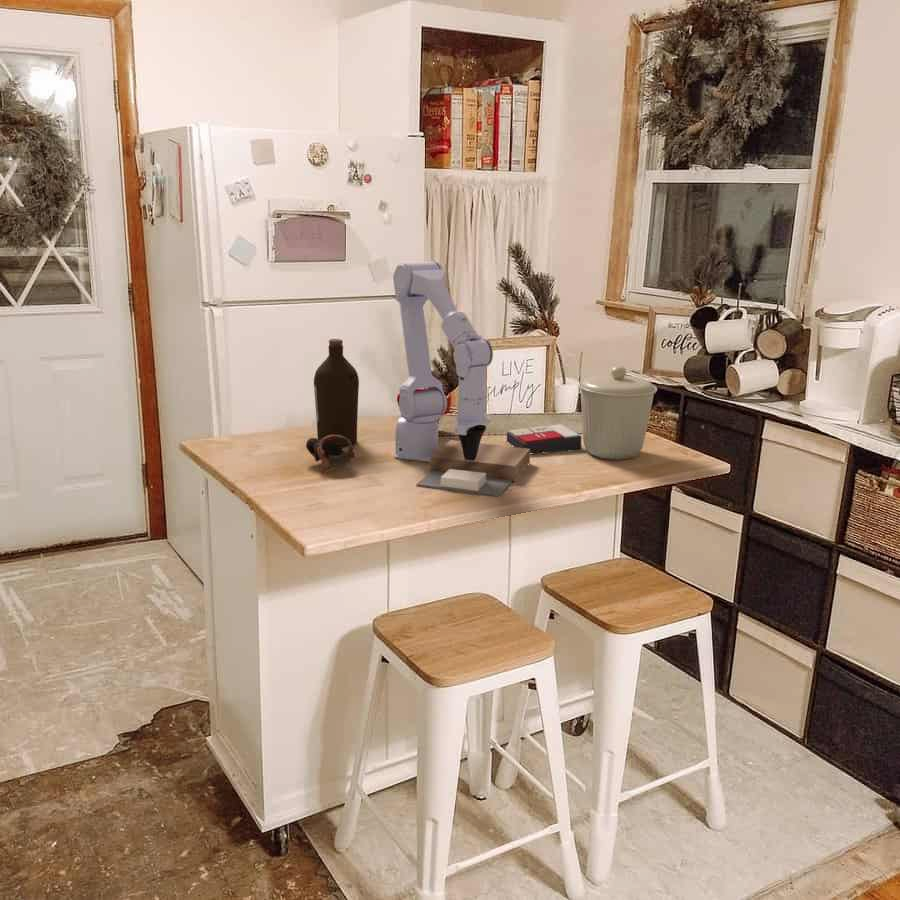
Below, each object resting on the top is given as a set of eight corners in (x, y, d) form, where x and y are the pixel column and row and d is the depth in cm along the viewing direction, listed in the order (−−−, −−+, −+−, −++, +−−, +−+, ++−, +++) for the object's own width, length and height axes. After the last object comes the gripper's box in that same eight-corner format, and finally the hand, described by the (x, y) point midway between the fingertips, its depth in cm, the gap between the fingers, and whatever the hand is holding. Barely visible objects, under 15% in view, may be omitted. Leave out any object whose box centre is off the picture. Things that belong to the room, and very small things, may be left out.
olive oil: (363, 437, 221) (363, 337, 214) (353, 450, 211) (352, 344, 204) (321, 435, 222) (319, 335, 215) (309, 447, 212) (307, 342, 205)
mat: (416, 485, 187) (416, 484, 187) (431, 472, 196) (431, 470, 196) (499, 496, 182) (499, 494, 181) (511, 482, 191) (511, 480, 190)
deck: (430, 471, 196) (430, 456, 195) (450, 454, 209) (450, 439, 208) (514, 482, 191) (515, 466, 190) (529, 463, 203) (530, 448, 202)
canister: (558, 451, 214) (563, 364, 207) (609, 439, 224) (615, 356, 218) (615, 470, 200) (622, 377, 194) (667, 456, 211) (675, 368, 205)
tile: (449, 468, 191) (449, 477, 191) (440, 477, 185) (440, 486, 186) (486, 473, 188) (485, 482, 189) (477, 481, 183) (477, 490, 183)
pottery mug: (361, 463, 203) (363, 438, 197) (343, 492, 197) (344, 467, 191) (314, 445, 205) (314, 420, 199) (294, 473, 199) (293, 447, 193)
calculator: (506, 429, 219) (561, 421, 224) (506, 446, 220) (561, 438, 225) (524, 441, 209) (582, 433, 214) (524, 458, 210) (581, 450, 215)
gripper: (480, 406, 179) (478, 471, 183) (499, 391, 192) (497, 452, 196) (447, 403, 181) (445, 467, 185) (468, 388, 194) (466, 448, 198)
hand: (470, 459), depth 191 cm, fingers closed
